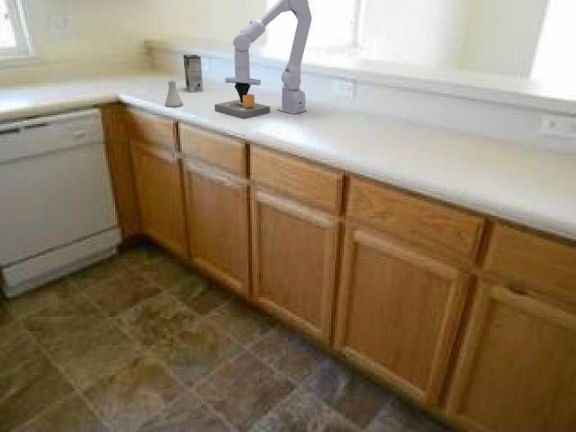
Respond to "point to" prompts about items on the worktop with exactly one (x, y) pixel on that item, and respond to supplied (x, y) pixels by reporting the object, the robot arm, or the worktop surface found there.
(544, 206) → the worktop surface
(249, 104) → the block
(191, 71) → the coffee box
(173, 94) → the flask
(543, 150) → the worktop surface
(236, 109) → the breaker panel
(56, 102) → the worktop surface
